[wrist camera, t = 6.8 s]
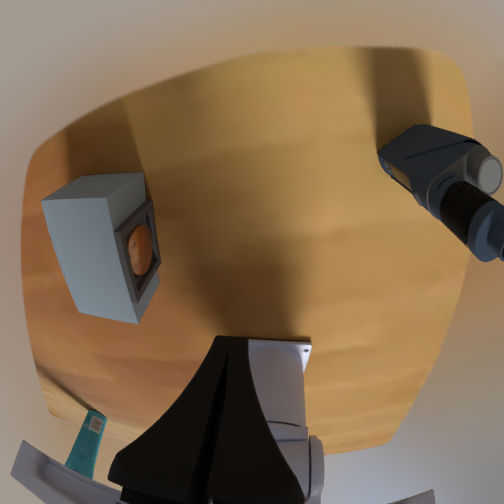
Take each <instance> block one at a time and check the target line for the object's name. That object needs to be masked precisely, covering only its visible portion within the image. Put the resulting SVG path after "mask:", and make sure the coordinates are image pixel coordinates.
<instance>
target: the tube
mask: <svg viewBox="0 0 504 504" xmlns="http://www.w3.org/2000/svg"><path fill="white" fill-rule="evenodd" d="M106 421H107V418H106V417H105V416H103V415H102V414H100V413H98V412H96V411H93V410H89V411H88V413H87V416H86V418H85V420H84V422H83V425H82V427H81V430H80V432H79V434H78V436H77V439H76V441H75V443H74V446H73V448H72V450H71V453H70V455H69V457H68V459H67V461H66V463H65V465H64V466H66V467H67V468H69V469H71V470H73V471H75V472H77V473H79V474H81V475H83V476H85V477H88V478H90V479H93V472H94V467H95V462H96V457H97V454H98V449H99V445H100V442H101V438H102V435H103V431H104V428H105V425H106Z"/></svg>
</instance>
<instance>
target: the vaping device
mask: <svg viewBox="0 0 504 504" xmlns="http://www.w3.org/2000/svg"><path fill="white" fill-rule="evenodd" d="M378 156H379V161H380V164H381V166H382V168H383V169H384V171H385V172H386V173H387V174H389V175H390V176H391V178H392V179H394V180H395V181H396V182H398V183H399V184H400V185H402V186H403V187H404V188H405V189H407V190H408V191H409V192H410V193H412V194H413V196H414V198H415V199H416V201H417V202H418V204H419V205H420V206H423V207H424V208H425V209H427V210H428V211H429V212H430V213H431V214H432V216H434V217H435V218H436V219H439V220H440V221H441V222H442V223H443V224H444V225H445V226H447V228H449V229H450V230H451V231H452V232H453V233H454V234H455V235H456V236H457V237H458V238H459V239H460V240H461V241H462V242H463V243H464V244H465V246H466V247H467V246H468V247H469V250H470V251H471V252H472V253H473V254H474V255H475V256H476V257H477V258H478V259H479V260H480V261H482V262H488V261H492V260H494V259H495V258H497V257H499V258H500V259H501V260H502V261H504V206H503V205H502V204H500V203H499V202H498V201H496V200H495V199H493V198H492V197H490V195H493V194H494V193H496V192H497V191H498V189H499V187H500V185H501V183H502V178H503V169H502V165H501V162H500V161H499V159H498V158H497V157H495V156H493V155H491V154H490V152H489V151H488V150H487V148H485V147H484V146H483V145H482V144H481V143H479V142H478V141H476V140H475V139H472V138H469V137H466V136H463V135H460V134H457V133H454V132H451V131H448V130H444V129H441V128H438V127H434V126H430V125H427V124H421V125H420V126H419V125H415V126H413V127H411V128H410V129H408V130H407V131H406V132H404V133H403V134H401V135H400V136H399V137H397V138H396V139H394V140H393V141H392V142H390V143H389V144H387V145H386V146H385V147H383V148H382V149H381V150H380V151H379V153H378ZM466 244H467V245H466ZM468 247H467V248H468Z"/></svg>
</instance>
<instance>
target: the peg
mask: <svg viewBox="0 0 504 504" xmlns="http://www.w3.org/2000/svg"><path fill="white" fill-rule="evenodd" d="M125 238H126V243H127V248H128V252H129V257H130V261H131V265H132V270H133V274H134V275H144V274H145V273H146V272H147V270H148V268H149V266H150V263H151V258H152V250H153V243H152V235H151V232H150V230H149V228H148V227H147V226H146V225H136V226H135V227H134V228H133V229H132V230H131V232H130V233H129V234H128V235H127V236H126V237H125Z"/></svg>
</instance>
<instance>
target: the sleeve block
mask: <svg viewBox="0 0 504 504" xmlns="http://www.w3.org/2000/svg"><path fill="white" fill-rule="evenodd" d="M41 202H42V207H43V211H44V215H45V219H46V222H47V226H48V230H49V233H50V236H51V240H52V243H53V246H54V249H55V252H56V255H57V258H58V261H59V264H60V267H61V269H62V272H63V275H64V277H65V280H66V282H67V285H68V287H69V290H70V292H71V295H72V297H73V299H74V302H75V304H76V306H77V308H78V311H79V312H81V313H85V314H90V315H94V316H99V317H104V318H108V319H113V320H118V321H124V322H129V323H134V324H139V322H140V320H141V318H142V316H143V314H144V312H145V310H146V308H147V306H148V304H149V302H150V301H151V299H152V297H153V295H154V293H155V291H156V289H157V287H158V285H159V283H160V282H159V277H158V272H157V269H158V267H159V265H160V264H161V259H160V253H159V247H158V240H157V233H156V226H155V219H154V211H153V202H152V200H146V192H145V183H144V173H143V172H135V173H115V174H100V175H88V176H81V177H79V178H77V179H76V180H74V181H72V182H70V183H69V184H67V185H65V186H64V187H62V188H60V189H59V190H57V191H55V192H54V193H52V194H50V195H49V196H47V197H46V198H44V199H43V200H41ZM136 225H146V226H147V227H148V228H149V230H150V232H151V235H152V243H153V250H152V258H151V263H150V266H149V268H148V270H147V272H146V273H145V274H144V275H134V274H133V270H132V265H131V261H130V257H129V252H128V248H127V243H126V238H125V237H126V236H127V235H128V234H129V233H130V232H131V230H132V229H133V228H134V227H135V226H136Z"/></svg>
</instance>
